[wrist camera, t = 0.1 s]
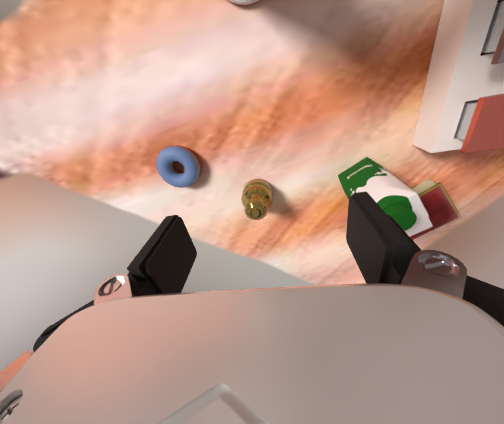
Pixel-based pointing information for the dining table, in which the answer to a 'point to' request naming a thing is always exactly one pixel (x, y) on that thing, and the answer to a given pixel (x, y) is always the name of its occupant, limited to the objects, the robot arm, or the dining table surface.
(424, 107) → the white button box
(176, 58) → the dining table surface
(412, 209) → the milk carton
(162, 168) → the doughnut
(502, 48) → the grey square push button
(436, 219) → the hardcover book
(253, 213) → the gold rounded piece
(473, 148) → the red square push button
